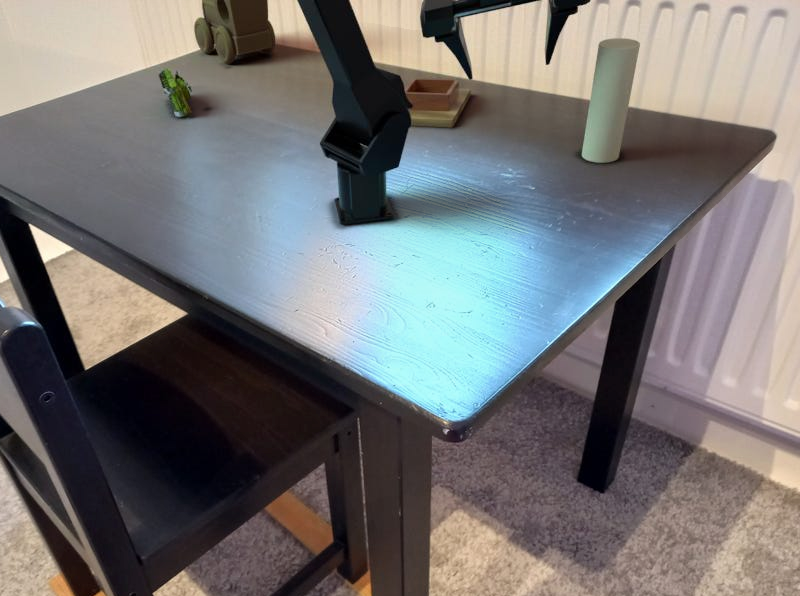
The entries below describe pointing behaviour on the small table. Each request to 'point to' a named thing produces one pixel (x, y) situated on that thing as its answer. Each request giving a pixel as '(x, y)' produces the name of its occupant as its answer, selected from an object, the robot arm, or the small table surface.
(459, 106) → the base pad
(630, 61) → the post
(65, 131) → the small table surface
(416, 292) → the small table surface
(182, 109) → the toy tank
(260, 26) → the wooden toy train
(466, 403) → the small table surface
